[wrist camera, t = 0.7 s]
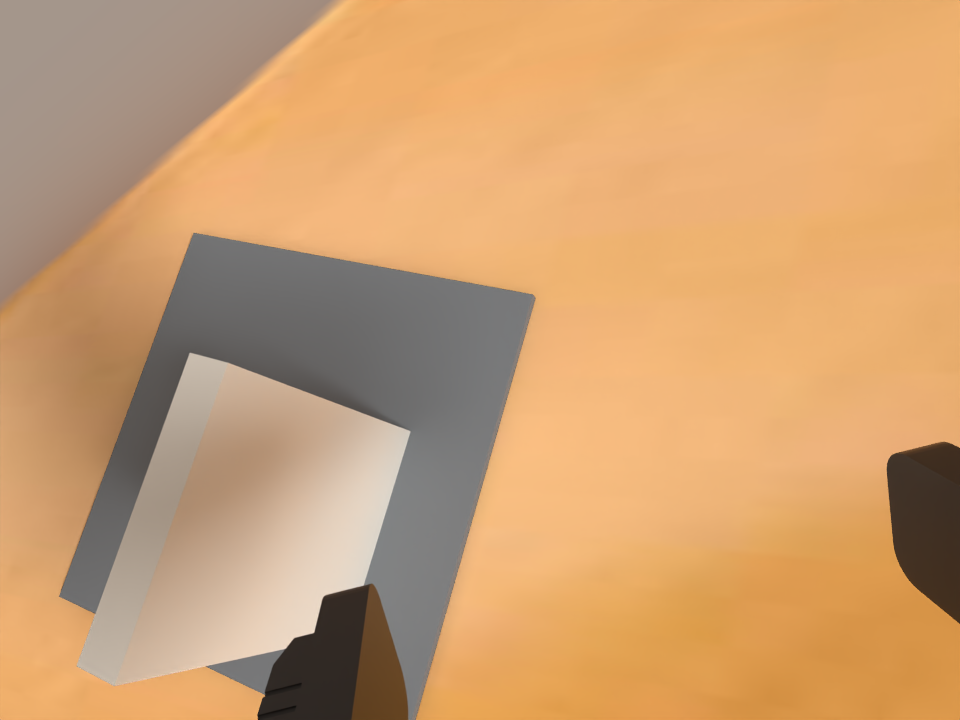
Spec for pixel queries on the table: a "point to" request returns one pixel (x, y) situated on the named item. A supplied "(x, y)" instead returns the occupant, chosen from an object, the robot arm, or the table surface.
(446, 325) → the mat
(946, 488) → the robot arm
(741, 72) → the table surface
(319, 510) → the tile
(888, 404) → the table surface
